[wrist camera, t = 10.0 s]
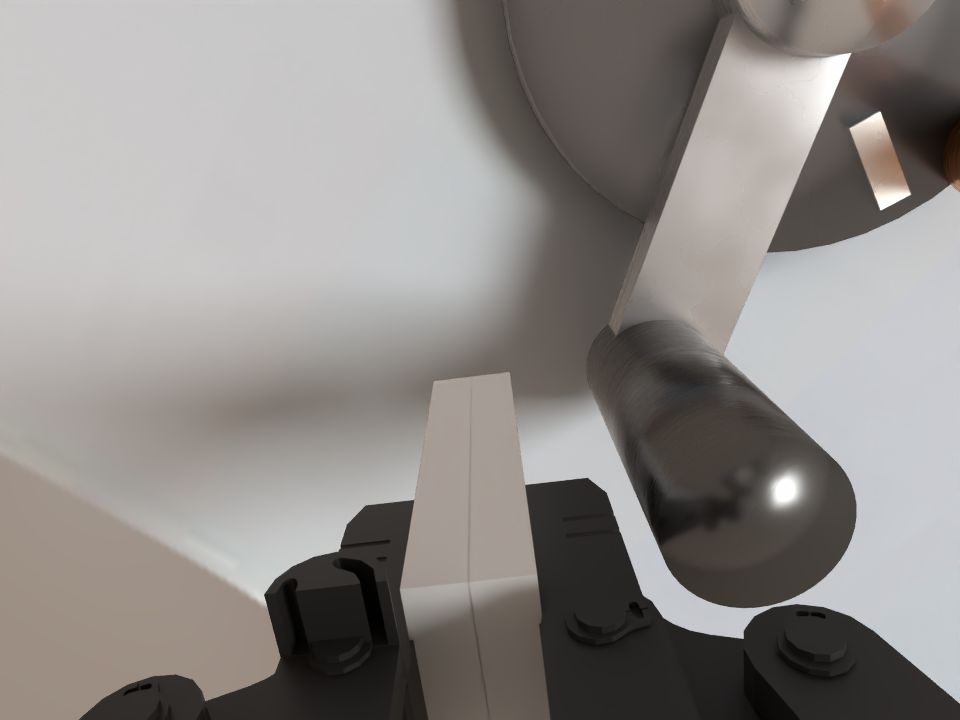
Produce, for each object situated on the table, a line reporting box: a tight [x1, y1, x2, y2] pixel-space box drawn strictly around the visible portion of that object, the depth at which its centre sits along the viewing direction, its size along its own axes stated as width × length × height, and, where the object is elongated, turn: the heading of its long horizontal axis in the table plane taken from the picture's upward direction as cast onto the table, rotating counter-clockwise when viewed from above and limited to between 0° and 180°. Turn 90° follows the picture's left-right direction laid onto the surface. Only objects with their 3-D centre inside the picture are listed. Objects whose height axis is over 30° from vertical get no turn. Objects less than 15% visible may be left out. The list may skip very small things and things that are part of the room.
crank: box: [587, 0, 935, 608], centre depth 12 cm, size 12×4×7 cm, turn 164°
